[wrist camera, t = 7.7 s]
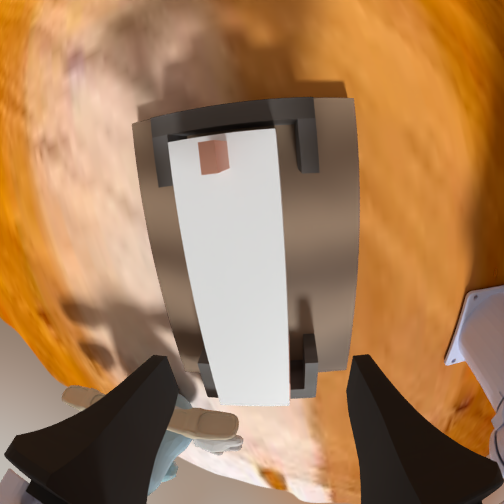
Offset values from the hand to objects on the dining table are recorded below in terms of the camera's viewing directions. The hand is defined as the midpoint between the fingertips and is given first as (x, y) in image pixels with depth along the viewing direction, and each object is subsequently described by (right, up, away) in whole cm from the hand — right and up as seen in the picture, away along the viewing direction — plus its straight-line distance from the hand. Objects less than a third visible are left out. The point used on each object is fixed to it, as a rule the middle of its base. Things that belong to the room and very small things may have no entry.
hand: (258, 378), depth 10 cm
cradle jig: (0, +5, +8) cm, 9 cm away
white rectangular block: (0, +5, +7) cm, 8 cm away
